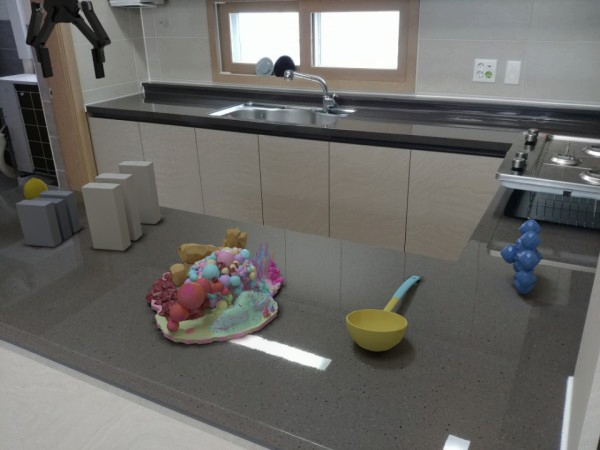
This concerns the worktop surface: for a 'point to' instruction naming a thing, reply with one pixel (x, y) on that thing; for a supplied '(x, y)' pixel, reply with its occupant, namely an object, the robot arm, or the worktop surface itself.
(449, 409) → the worktop surface
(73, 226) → the grey books
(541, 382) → the worktop surface
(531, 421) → the worktop surface
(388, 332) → the ladle
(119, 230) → the cream book row
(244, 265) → the candy landscape model
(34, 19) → the robot arm
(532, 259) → the grapes
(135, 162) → the cream tall block
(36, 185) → the lemon
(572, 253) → the worktop surface
